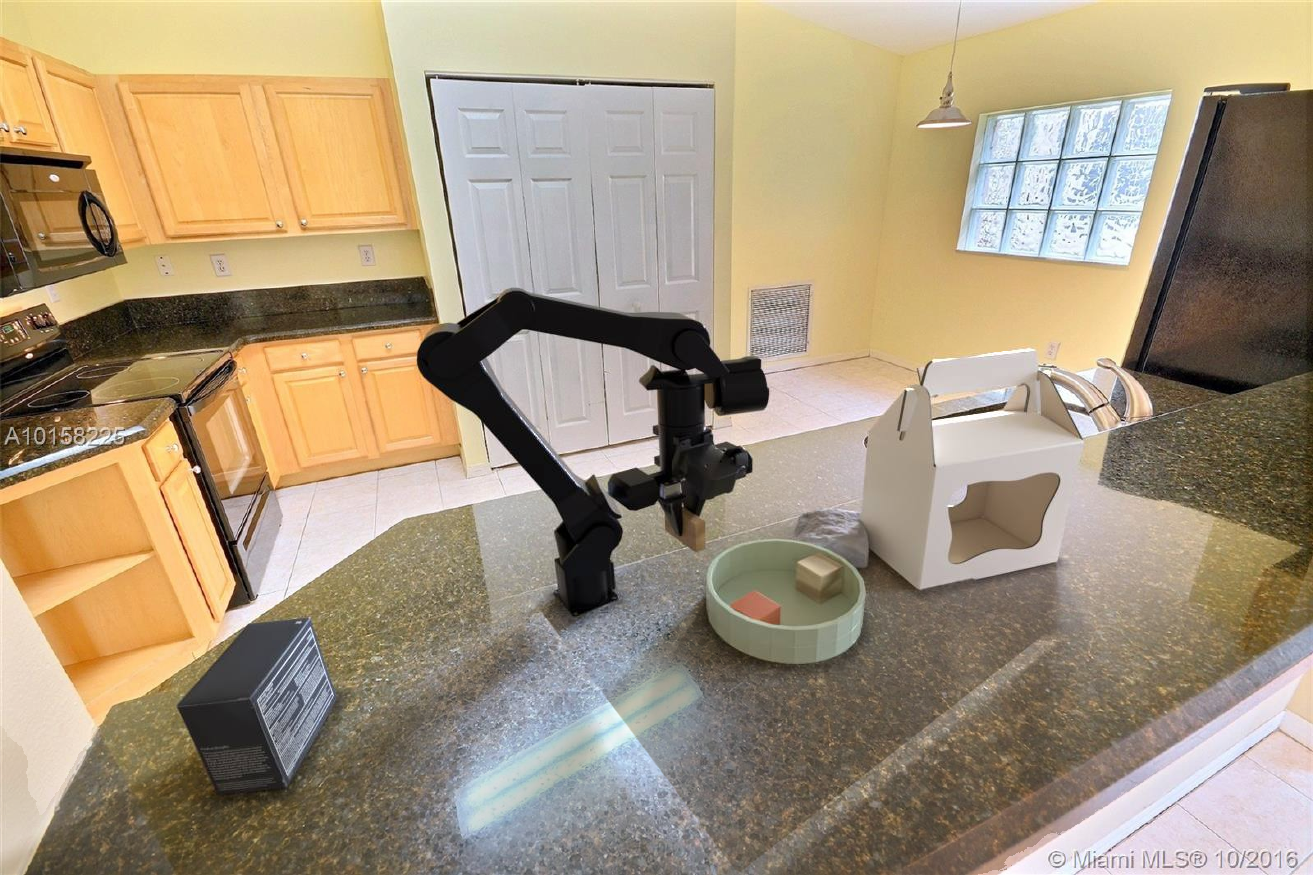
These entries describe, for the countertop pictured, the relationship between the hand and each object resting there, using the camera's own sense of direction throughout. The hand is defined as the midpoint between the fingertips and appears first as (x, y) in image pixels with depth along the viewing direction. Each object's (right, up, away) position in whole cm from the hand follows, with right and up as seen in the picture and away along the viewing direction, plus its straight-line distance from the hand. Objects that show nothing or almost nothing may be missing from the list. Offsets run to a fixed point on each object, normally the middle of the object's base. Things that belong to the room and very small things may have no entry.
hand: (684, 533), depth 75 cm
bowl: (+12, -9, -5) cm, 15 cm away
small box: (-40, -17, -20) cm, 47 cm away
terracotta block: (+8, -10, -9) cm, 16 cm away
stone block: (+21, -4, +8) cm, 23 cm away
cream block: (+17, -7, -2) cm, 18 cm away
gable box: (+38, -4, +6) cm, 39 cm away
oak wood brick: (0, -1, 0) cm, 1 cm away
